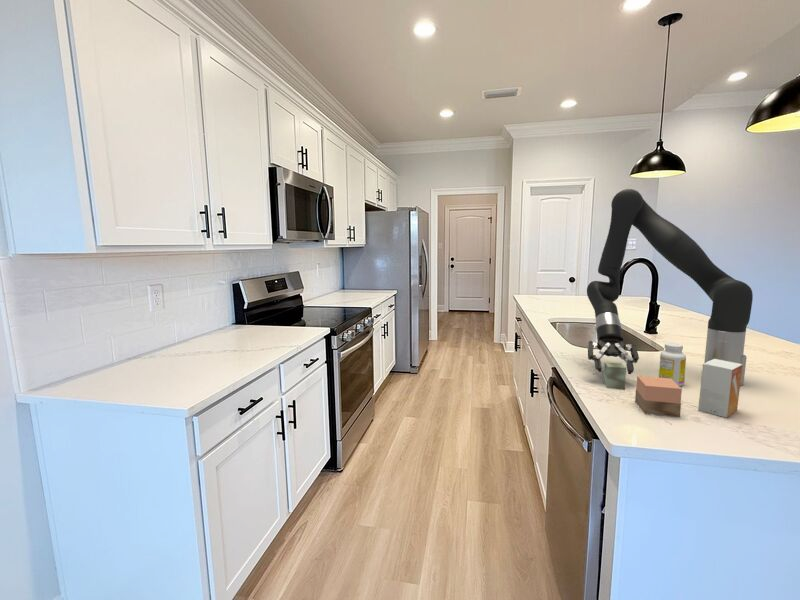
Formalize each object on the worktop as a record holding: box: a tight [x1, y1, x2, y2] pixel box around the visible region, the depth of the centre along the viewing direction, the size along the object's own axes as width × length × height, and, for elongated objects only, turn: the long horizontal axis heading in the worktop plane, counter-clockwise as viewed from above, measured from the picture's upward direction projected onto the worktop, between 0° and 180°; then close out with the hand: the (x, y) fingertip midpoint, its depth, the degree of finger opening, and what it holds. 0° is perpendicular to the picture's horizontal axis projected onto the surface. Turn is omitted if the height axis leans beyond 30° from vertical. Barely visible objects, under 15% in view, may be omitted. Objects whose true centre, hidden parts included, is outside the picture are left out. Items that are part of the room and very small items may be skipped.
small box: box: [697, 359, 743, 419], centre depth 99 cm, size 8×6×13 cm
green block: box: [602, 361, 627, 390], centre depth 118 cm, size 5×5×7 cm
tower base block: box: [634, 389, 682, 418], centre depth 101 cm, size 8×8×4 cm
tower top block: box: [635, 375, 683, 405], centre depth 100 cm, size 8×8×4 cm
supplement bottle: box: [658, 342, 687, 387], centre depth 119 cm, size 7×7×13 cm
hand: (614, 372), depth 117 cm, fingers open, 8 cm apart
